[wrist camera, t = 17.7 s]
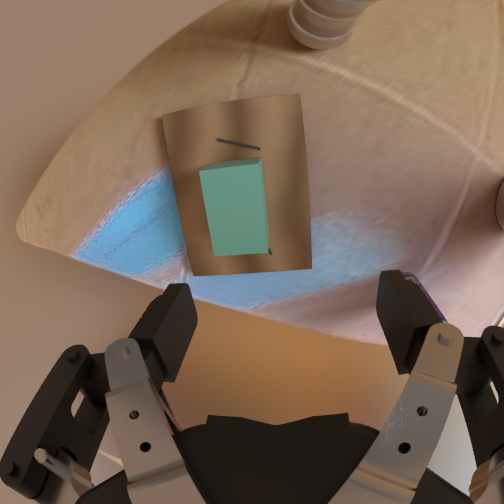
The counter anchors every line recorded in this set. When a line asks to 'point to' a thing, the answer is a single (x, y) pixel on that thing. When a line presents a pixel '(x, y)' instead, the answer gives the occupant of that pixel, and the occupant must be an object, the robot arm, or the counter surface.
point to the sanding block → (236, 206)
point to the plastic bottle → (324, 21)
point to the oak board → (235, 148)
